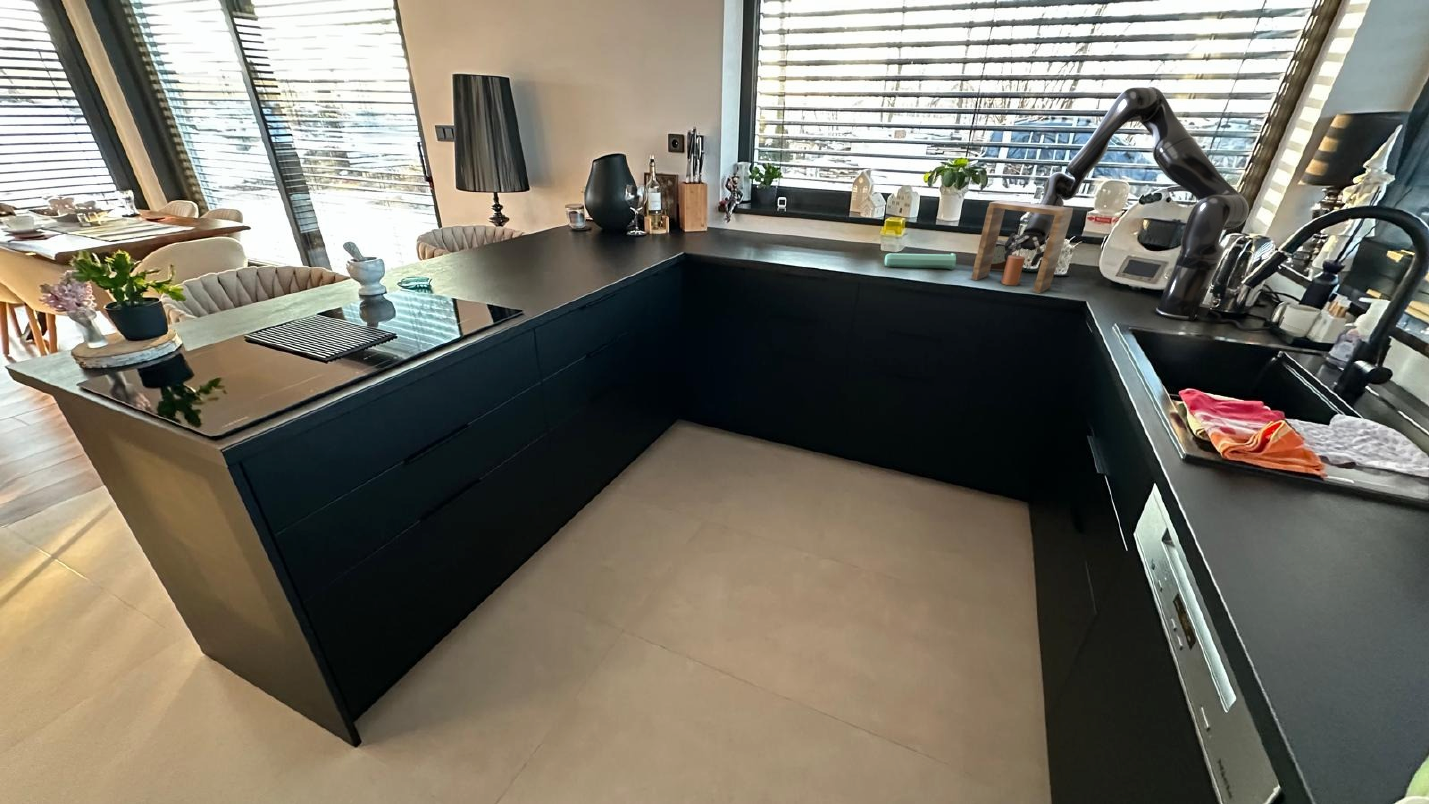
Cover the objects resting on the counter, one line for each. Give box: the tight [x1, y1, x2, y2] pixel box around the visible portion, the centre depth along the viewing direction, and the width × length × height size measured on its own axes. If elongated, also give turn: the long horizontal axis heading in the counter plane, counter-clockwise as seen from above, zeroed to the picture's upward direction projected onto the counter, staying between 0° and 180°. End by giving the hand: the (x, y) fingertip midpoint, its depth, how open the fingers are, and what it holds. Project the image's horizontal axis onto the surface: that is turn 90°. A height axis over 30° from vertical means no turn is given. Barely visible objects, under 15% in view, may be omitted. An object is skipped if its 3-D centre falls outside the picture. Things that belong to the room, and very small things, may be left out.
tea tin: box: [1000, 254, 1026, 287], centre depth 188 cm, size 5×5×9 cm
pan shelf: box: [970, 199, 1074, 294], centre depth 184 cm, size 22×10×26 cm, turn 44°
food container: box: [990, 239, 1015, 272], centre depth 207 cm, size 12×6×10 cm, turn 84°
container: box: [884, 252, 957, 271], centre depth 206 cm, size 6×6×25 cm
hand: (1019, 262), depth 189 cm, fingers open, 8 cm apart
